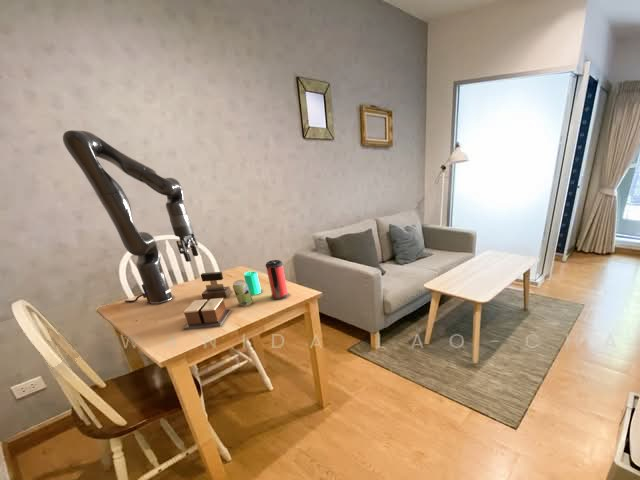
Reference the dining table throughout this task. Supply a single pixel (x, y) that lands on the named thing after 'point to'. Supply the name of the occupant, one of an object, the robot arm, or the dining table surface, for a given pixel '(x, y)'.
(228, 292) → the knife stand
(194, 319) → the split wooden block
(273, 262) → the speaker
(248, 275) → the candle
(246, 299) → the beverage can
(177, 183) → the robot arm
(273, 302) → the dining table surface
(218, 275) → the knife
